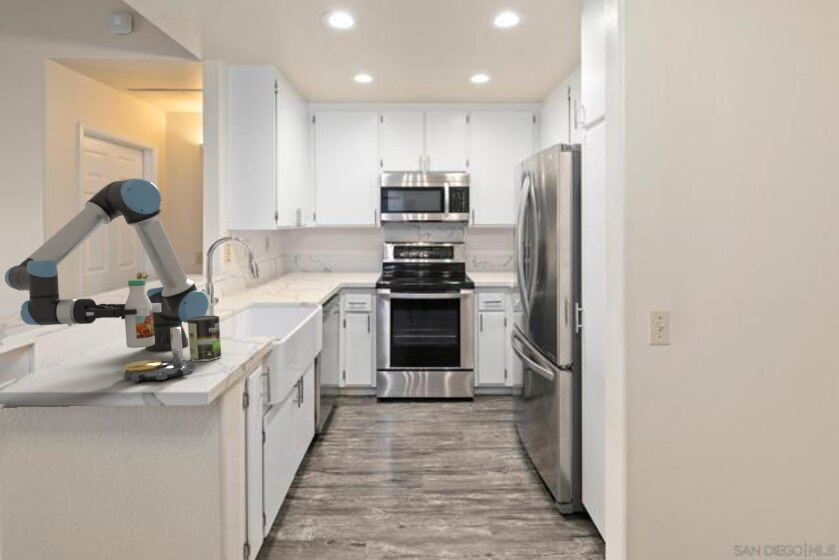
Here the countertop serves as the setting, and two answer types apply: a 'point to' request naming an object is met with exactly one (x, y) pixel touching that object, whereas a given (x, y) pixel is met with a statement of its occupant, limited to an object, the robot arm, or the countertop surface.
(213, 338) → the coffee can
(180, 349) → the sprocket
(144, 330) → the milk bottle
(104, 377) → the countertop surface
